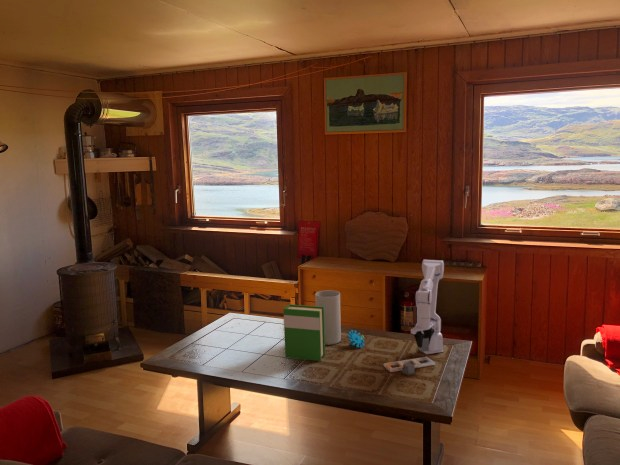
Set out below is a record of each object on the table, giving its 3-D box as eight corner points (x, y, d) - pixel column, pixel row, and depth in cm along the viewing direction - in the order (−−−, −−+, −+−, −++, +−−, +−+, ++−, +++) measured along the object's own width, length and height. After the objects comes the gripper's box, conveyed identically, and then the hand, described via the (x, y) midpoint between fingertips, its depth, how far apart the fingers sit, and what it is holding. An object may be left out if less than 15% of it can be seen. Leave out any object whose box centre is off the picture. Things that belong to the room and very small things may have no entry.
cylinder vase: (320, 346, 256) (318, 298, 252) (314, 337, 268) (312, 291, 264) (344, 343, 259) (343, 295, 255) (337, 335, 271) (336, 289, 267)
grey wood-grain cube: (408, 370, 225) (408, 362, 225) (414, 373, 222) (414, 365, 222) (402, 372, 223) (402, 364, 223) (408, 375, 220) (408, 366, 220)
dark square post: (424, 347, 234) (424, 335, 233) (428, 350, 230) (428, 337, 229) (418, 348, 233) (418, 336, 232) (421, 351, 229) (421, 339, 228)
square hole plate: (427, 359, 237) (427, 356, 237) (435, 364, 230) (435, 362, 230) (383, 366, 231) (383, 363, 231) (390, 372, 224) (390, 369, 224)
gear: (356, 348, 248) (346, 330, 253) (348, 354, 251) (339, 337, 256) (370, 344, 256) (359, 327, 261) (362, 350, 259) (352, 333, 264)
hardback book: (325, 355, 245) (323, 306, 242) (320, 361, 238) (319, 311, 235) (290, 351, 251) (289, 304, 247) (285, 357, 244) (283, 308, 240)
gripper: (427, 311, 236) (427, 339, 239) (405, 318, 228) (405, 347, 230) (439, 314, 231) (439, 343, 233) (417, 321, 222) (417, 351, 224)
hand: (423, 345), depth 231 cm, fingers closed on dark square post, 4 cm apart
